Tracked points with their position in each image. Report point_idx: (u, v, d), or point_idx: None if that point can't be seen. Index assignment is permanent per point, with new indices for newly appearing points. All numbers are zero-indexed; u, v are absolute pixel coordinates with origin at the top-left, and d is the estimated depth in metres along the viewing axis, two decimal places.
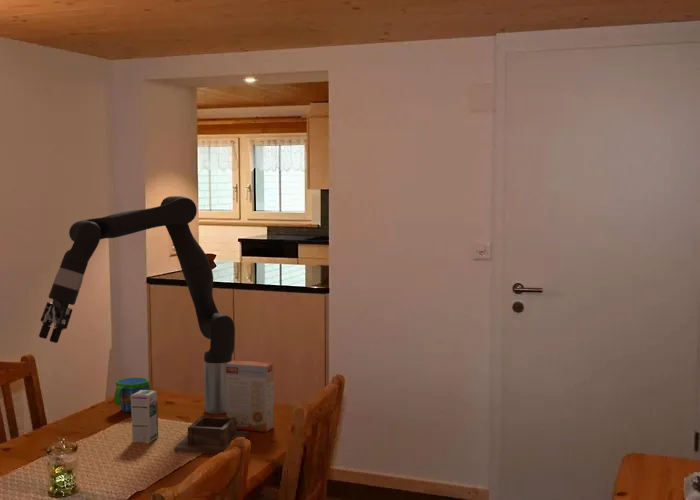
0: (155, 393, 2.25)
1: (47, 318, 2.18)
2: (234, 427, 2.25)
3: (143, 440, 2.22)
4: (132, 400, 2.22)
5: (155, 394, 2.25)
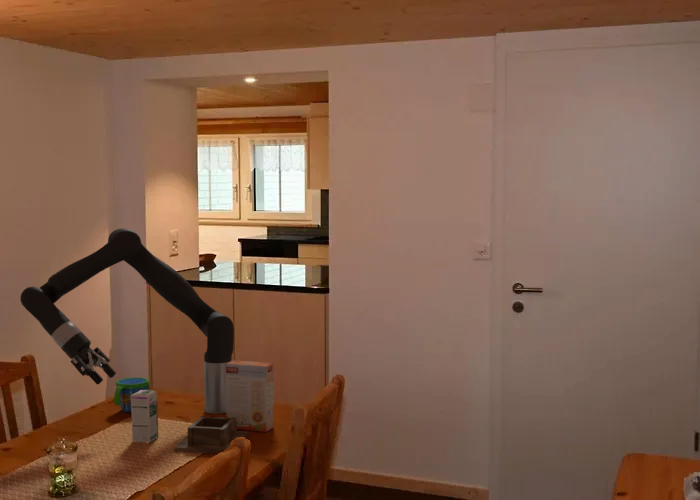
0: (155, 393, 2.25)
1: (96, 365, 2.28)
2: (234, 427, 2.25)
3: (143, 440, 2.22)
4: (132, 400, 2.22)
5: (155, 394, 2.25)
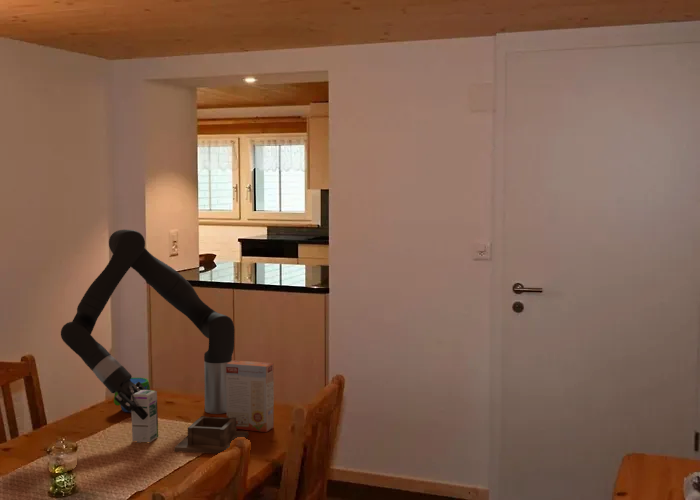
0: (155, 393, 2.25)
1: None
2: (234, 427, 2.25)
3: (143, 440, 2.22)
4: None
5: (155, 394, 2.25)
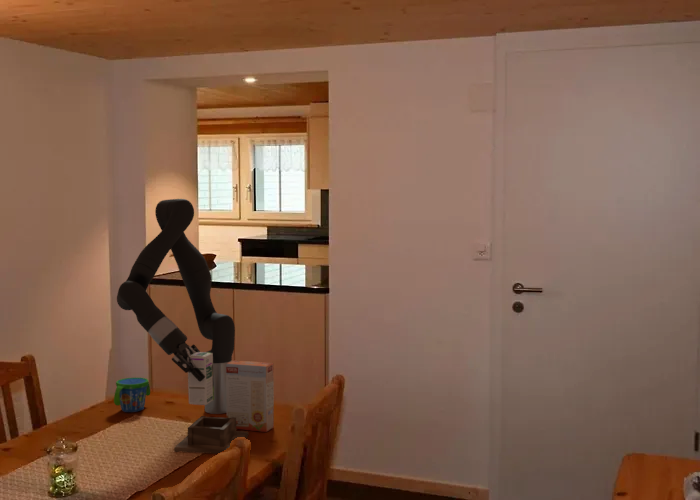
0: (211, 355, 2.21)
1: None
2: (234, 427, 2.25)
3: (200, 402, 2.19)
4: None
5: (211, 356, 2.22)
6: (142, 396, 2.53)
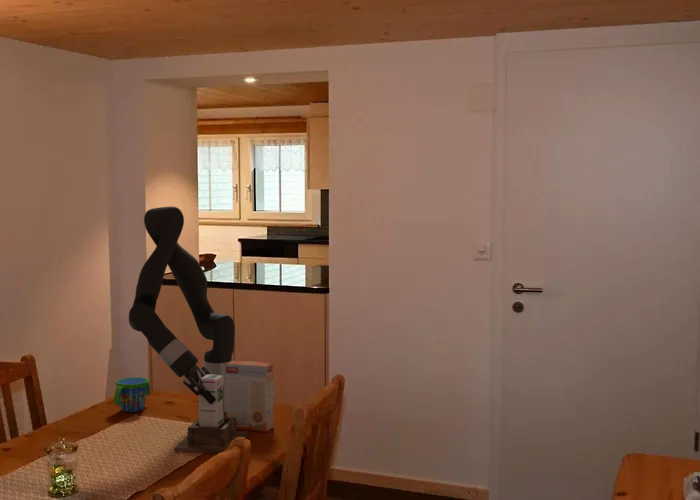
0: (222, 378, 2.21)
1: None
2: (234, 427, 2.25)
3: (210, 425, 2.18)
4: None
5: (222, 379, 2.22)
6: (142, 396, 2.53)
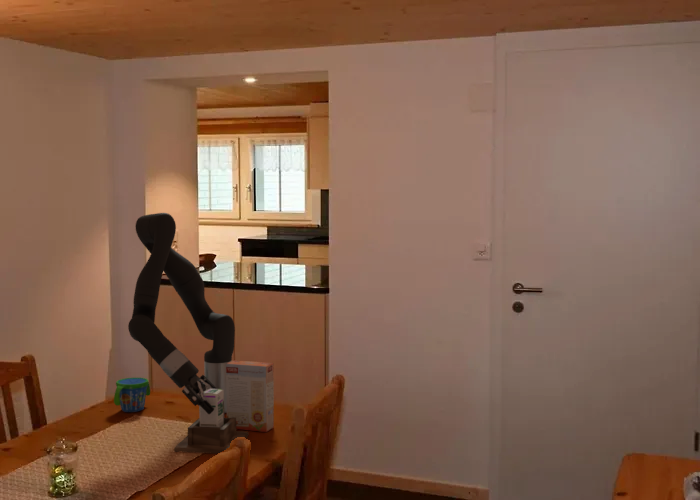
0: (222, 392, 2.22)
1: None
2: (234, 427, 2.25)
3: None
4: None
5: (222, 393, 2.22)
6: (142, 396, 2.53)
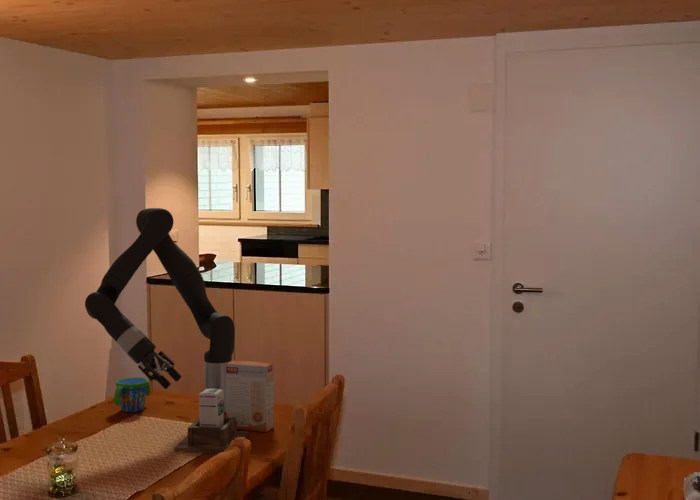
0: (222, 392, 2.22)
1: (162, 369, 2.27)
2: (234, 427, 2.25)
3: None
4: (200, 399, 2.19)
5: (222, 393, 2.22)
6: (142, 396, 2.53)
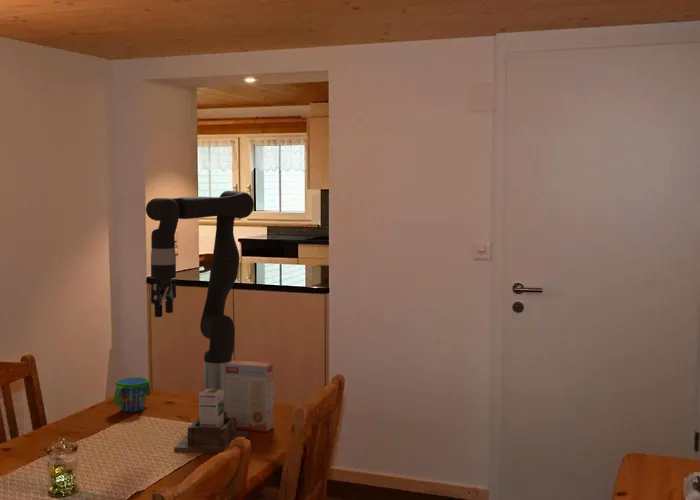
0: (222, 392, 2.22)
1: None
2: (234, 427, 2.25)
3: None
4: (200, 399, 2.19)
5: (222, 393, 2.22)
6: (142, 396, 2.53)
